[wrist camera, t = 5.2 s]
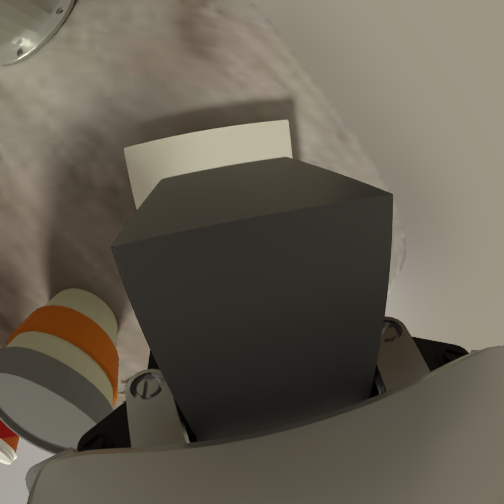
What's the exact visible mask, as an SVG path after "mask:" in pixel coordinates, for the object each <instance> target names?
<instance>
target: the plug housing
mask: <svg viewBox="0 0 504 504" xmlns="http://www.w3.org/2000/svg"><path fill="white" fill-rule="evenodd" d="M392 218H393V194H391V193H389V192H386V191H384V190H381V189H379V188H376V187H374V186H371V185H368V184H366V183H363V182H360V181H358V180H355V179H352V178H350V177H347V176H344V175H341V174H338V173H335V172H332V171H330V170H327V169H324V168H321V167H318V166H315V165H311V164H308V163H305V162H302V161H299V160H296V159H292V158H289V157H280V158H272V159H266V160H259V161H252V162H246V163H240V164H234V165H228V166H223V167H217V168H212V169H206V170H201V171H196V172H191V173H186V174H182V175H177V176H172V177H168V178H163V179H161V180H160V181H159V183H158V184H157V185H156V186H155V188H154V189H153V190H152V191H151V193H150V194H149V195H148V197H147V198H146V199H145V200H144V202H143V203H142V204H141V206H140V207H139V208H138V210H137V211H136V212H135V214H134V215H133V216H132V218H131V219H130V220H129V222H128V223H127V225H126V226H125V227H124V229H123V230H122V232H121V233H120V234H119V236H118V237H117V239H116V240H115V241H114V243H113V244H112V246H111V249H112V252H113V255H114V258H115V261H116V264H117V267H118V270H119V273H120V275H121V278H122V281H123V284H124V286H125V289H126V292H127V294H128V297H129V300H130V302H131V305H132V307H133V310H134V312H135V315H136V317H137V320H138V322H139V325H140V327H141V329H142V332H143V334H144V336H145V339H146V341H147V343H148V345H149V348H150V350H151V352H152V354H153V356H154V358H155V361H156V363H157V365H158V367H159V369H160V371H161V373H162V375H163V377H164V379H165V381H166V383H167V385H168V387H169V389H170V391H171V393H172V395H173V397H174V399H175V401H176V402H177V404H178V406H179V408H180V410H181V412H182V413H183V415H184V417H185V419H186V421H187V422H188V424H189V426H190V427H191V429H192V431H193V433H194V434H195V436H196V438H197V439H198V441H199V442H201V441H208V440H215V439H221V438H227V437H233V436H238V435H244V434H249V433H254V432H258V431H263V430H268V429H272V428H276V427H280V426H284V425H288V424H292V423H296V422H299V421H303V420H307V419H310V418H313V417H317V416H320V415H323V414H326V413H330V412H333V411H336V410H339V409H342V408H345V407H347V406H350V405H353V404H356V403H359V402H361V401H364V400H367V399H369V396H370V392H371V387H372V383H373V378H374V374H375V369H376V364H377V359H378V353H379V348H380V342H381V336H382V330H383V323H384V315H385V308H386V300H387V292H388V282H389V271H390V259H391V243H392Z"/></svg>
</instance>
